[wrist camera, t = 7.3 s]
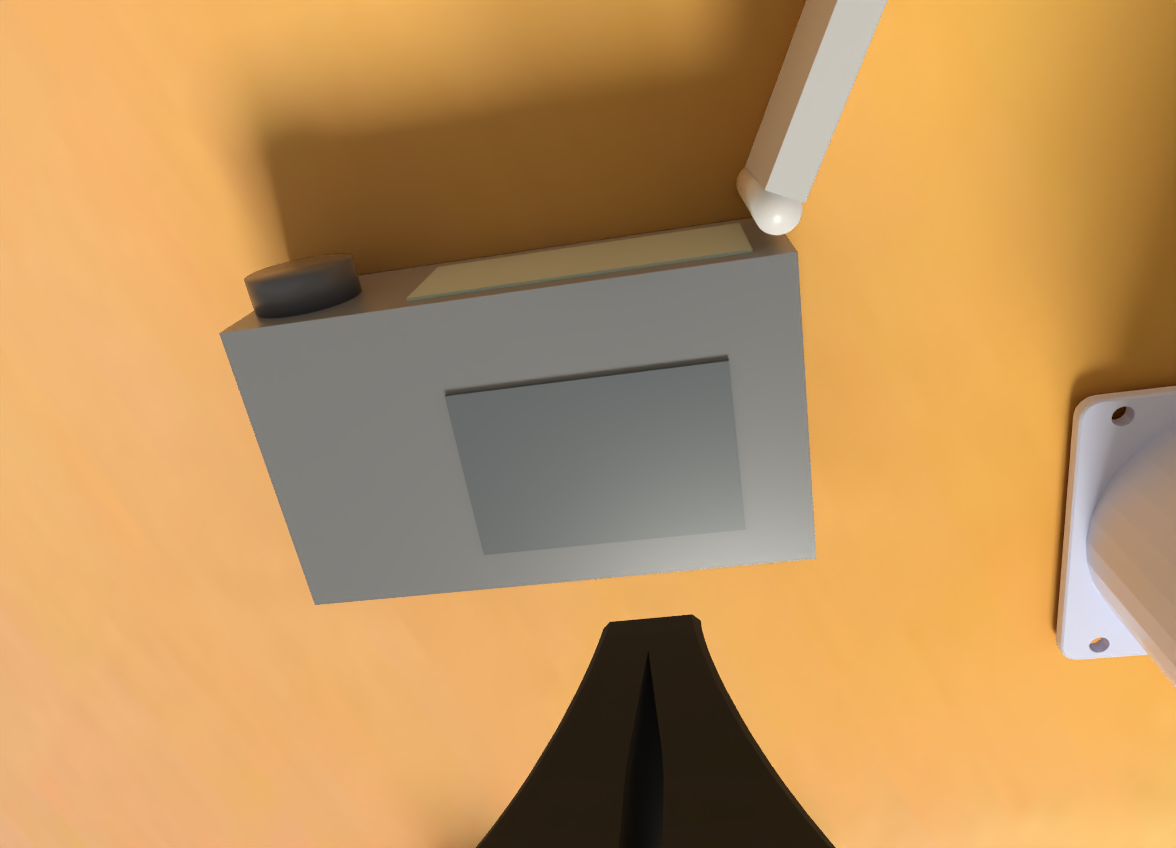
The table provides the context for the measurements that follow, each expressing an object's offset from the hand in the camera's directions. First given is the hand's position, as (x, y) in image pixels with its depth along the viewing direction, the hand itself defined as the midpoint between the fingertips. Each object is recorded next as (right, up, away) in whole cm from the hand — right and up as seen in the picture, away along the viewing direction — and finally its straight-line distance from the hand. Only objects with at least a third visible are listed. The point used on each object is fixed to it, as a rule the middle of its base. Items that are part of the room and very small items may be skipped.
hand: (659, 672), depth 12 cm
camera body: (-2, +5, +9) cm, 11 cm away
